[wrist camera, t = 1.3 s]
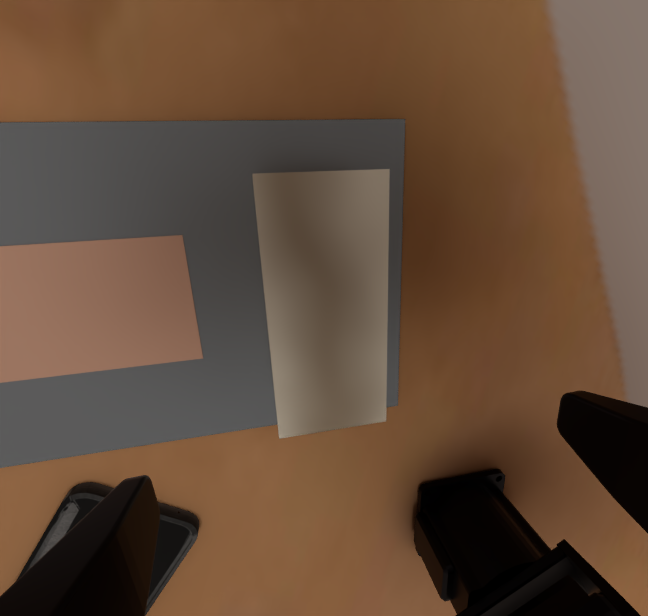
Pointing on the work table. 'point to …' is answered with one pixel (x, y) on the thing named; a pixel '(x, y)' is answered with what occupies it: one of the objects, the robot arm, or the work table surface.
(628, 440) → the robot arm
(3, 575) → the work table surface
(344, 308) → the ash block
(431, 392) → the work table surface
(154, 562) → the phone
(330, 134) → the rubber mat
